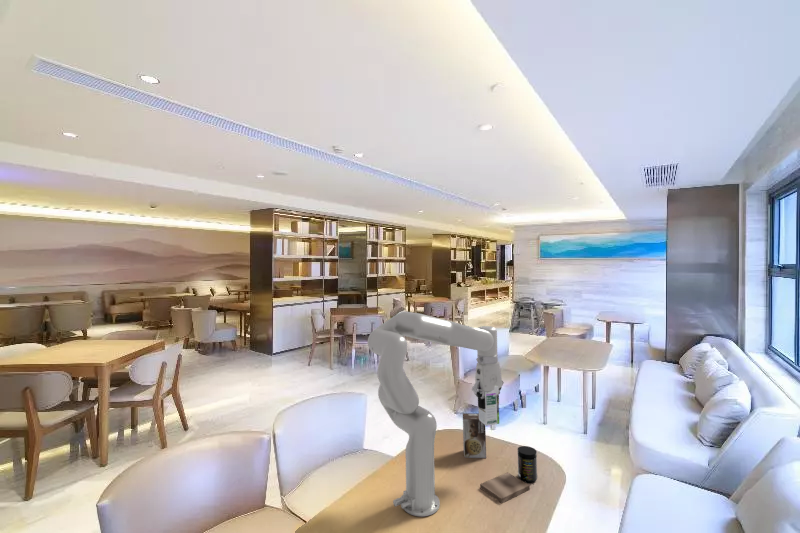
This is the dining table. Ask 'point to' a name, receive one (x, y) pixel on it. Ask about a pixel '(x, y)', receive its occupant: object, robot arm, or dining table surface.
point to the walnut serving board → (504, 487)
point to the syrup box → (490, 408)
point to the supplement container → (527, 464)
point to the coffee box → (473, 436)
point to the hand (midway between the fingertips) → (488, 405)
